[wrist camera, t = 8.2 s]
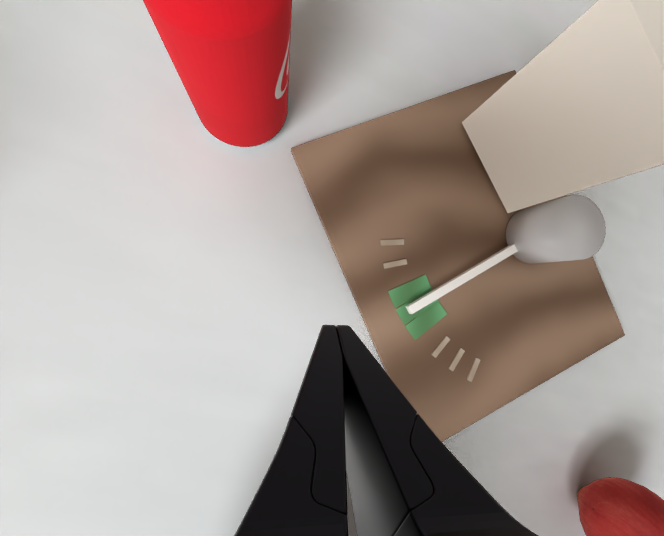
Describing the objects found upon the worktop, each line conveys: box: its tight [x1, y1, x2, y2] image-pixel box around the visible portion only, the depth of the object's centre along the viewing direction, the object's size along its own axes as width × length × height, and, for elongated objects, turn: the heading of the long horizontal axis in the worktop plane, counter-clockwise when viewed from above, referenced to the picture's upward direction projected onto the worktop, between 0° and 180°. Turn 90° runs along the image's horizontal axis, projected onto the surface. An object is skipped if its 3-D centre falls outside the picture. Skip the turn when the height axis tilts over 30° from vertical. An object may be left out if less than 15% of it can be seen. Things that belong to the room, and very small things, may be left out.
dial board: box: [291, 70, 625, 442], centre depth 24 cm, size 24×20×1 cm
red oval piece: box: [577, 477, 664, 536], centre depth 21 cm, size 6×6×8 cm
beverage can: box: [143, 0, 292, 147], centre depth 17 cm, size 6×6×12 cm
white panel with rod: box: [405, 0, 664, 314], centre depth 18 cm, size 13×14×12 cm
